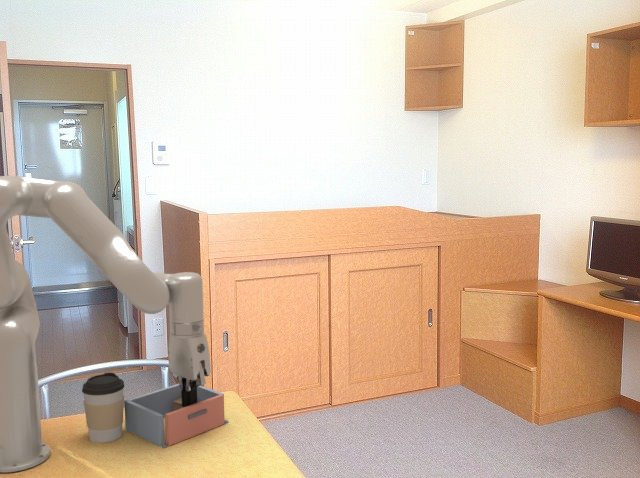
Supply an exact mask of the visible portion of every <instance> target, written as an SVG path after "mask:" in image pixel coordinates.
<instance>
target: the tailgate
mask: <svg viewBox="0 0 640 478" xmlns="http://www.w3.org/2000/svg"><path fill="white" fill-rule="evenodd" d="M164 419H165V424H164V425H165V444H166V445H167V447H170V446H173V445H175V444H177V443H180V442H183V441H185V440H188V439H190V438H193V437H195V436H199V435H200V434H203V433H205V432H208V431H211V430H213V429H215V428H218V427H221V426H223V425H225V424H224V420H225V394H224V395H218V396H215V397H212V398H209V399H206V400H204V401H201V402H198V403H195V404H192V405H189V406H187V407H184V408H181V409H178V410H175V411H173V412H170V413H167V414H165V417H164Z"/></svg>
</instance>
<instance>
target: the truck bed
mask: <svg viewBox="0 0 640 478" xmlns="http://www.w3.org/2000/svg"><path fill="white" fill-rule="evenodd" d="M181 390H182V389H180V387H179V383H175V384H173V385H170V386H167V387H164V388H161V389H158V390H154V391H151V392H148V393H144V394H141V395H139V396H136V397H132V398H129V399H126V400H125V399H124V427H125V428H124V429H125V430H126V431H128V432H130V433H132V434H134V435H136V436H138V437H140V438H142V439H144V440H146V441H148V442H150V443H152V444H155V445H156V446H159V447H161V448H162V449H167V448H168V445H166V443H165V430H164V429H165V428H164V427H165V424H164V419H165V414H167V413H170V412H173V401H175V400H178V399H180V398H182V396H181ZM218 395H224V396H225V393H223V392H221V391H218V390H215V389H212V388H209V387H207V386H205V385H202V386H199V388H198V389H197V403H198V402H201V401H204V400H206V399H209V398H212V397H215V396H218ZM227 424H229V421H228V419H224V424H223V425H227Z"/></svg>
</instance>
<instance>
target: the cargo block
mask: <svg viewBox="0 0 640 478" xmlns="http://www.w3.org/2000/svg"><path fill="white" fill-rule="evenodd" d="M181 408H184V407H182V398H180V399H178V400H175V401H173V411H175V410H178V409H181Z"/></svg>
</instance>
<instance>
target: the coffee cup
mask: <svg viewBox="0 0 640 478" xmlns="http://www.w3.org/2000/svg"><path fill="white" fill-rule="evenodd" d="M124 383H125V381H124V380H123V379H122V378H120V377H119V375H117V374H116V373H114V372H109V371H108V372H104V373H103V374H98V375H94V376H91V377H89V378H87V380H86V382H84V383H83V384H82V390H81V391H82V393H83V406H84V413H85V420H86V427H87V430H88V437H89V440H90V442H92V443H95V444H96V443H98V444H102V443H103V444H105V443H111V442H114V441H117V440H119V439H120V438H121V437H122V436H123V423H124V413H125V408H124V401H125V395H124V388H125V384H124Z"/></svg>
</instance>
